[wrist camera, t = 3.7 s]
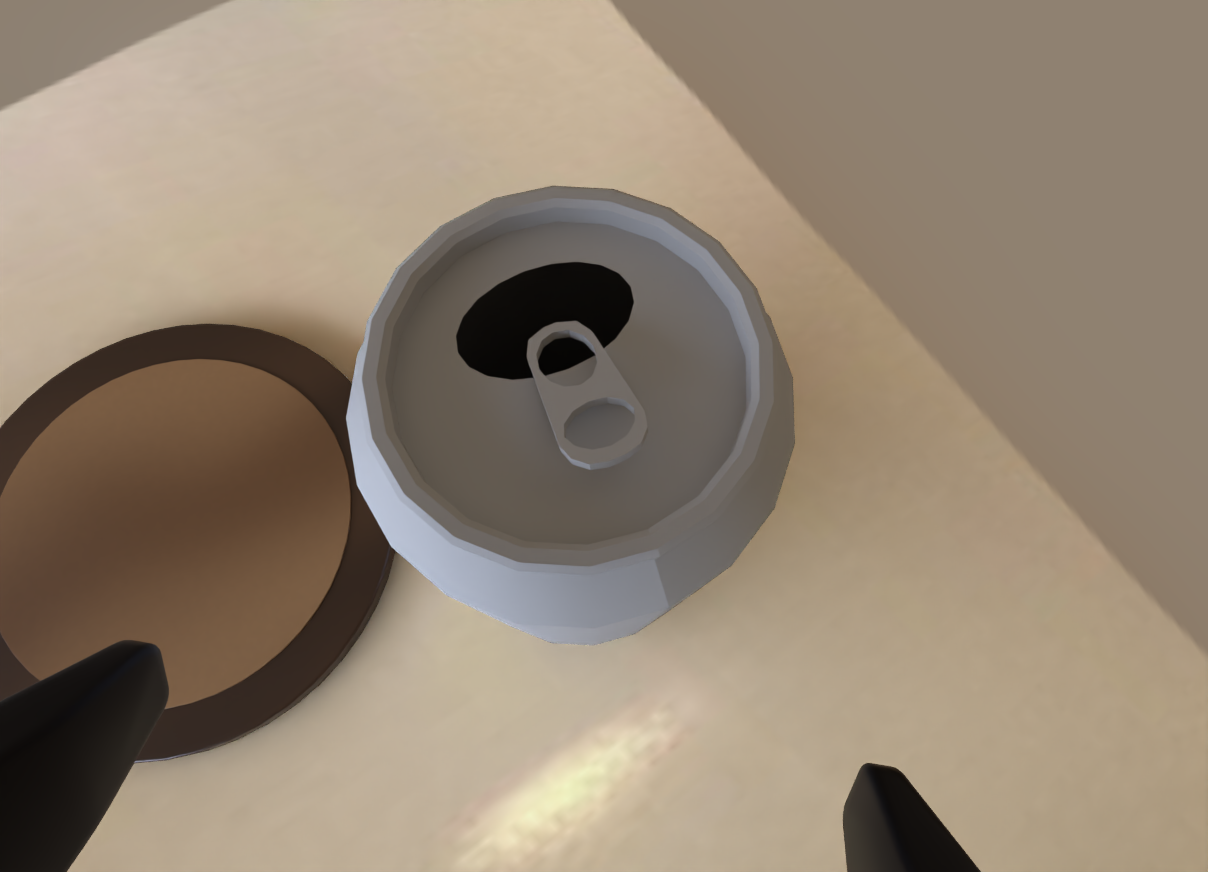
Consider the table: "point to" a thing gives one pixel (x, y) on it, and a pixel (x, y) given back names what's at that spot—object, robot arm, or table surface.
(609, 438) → the can
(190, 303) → the table surface
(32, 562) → the coaster
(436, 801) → the table surface
